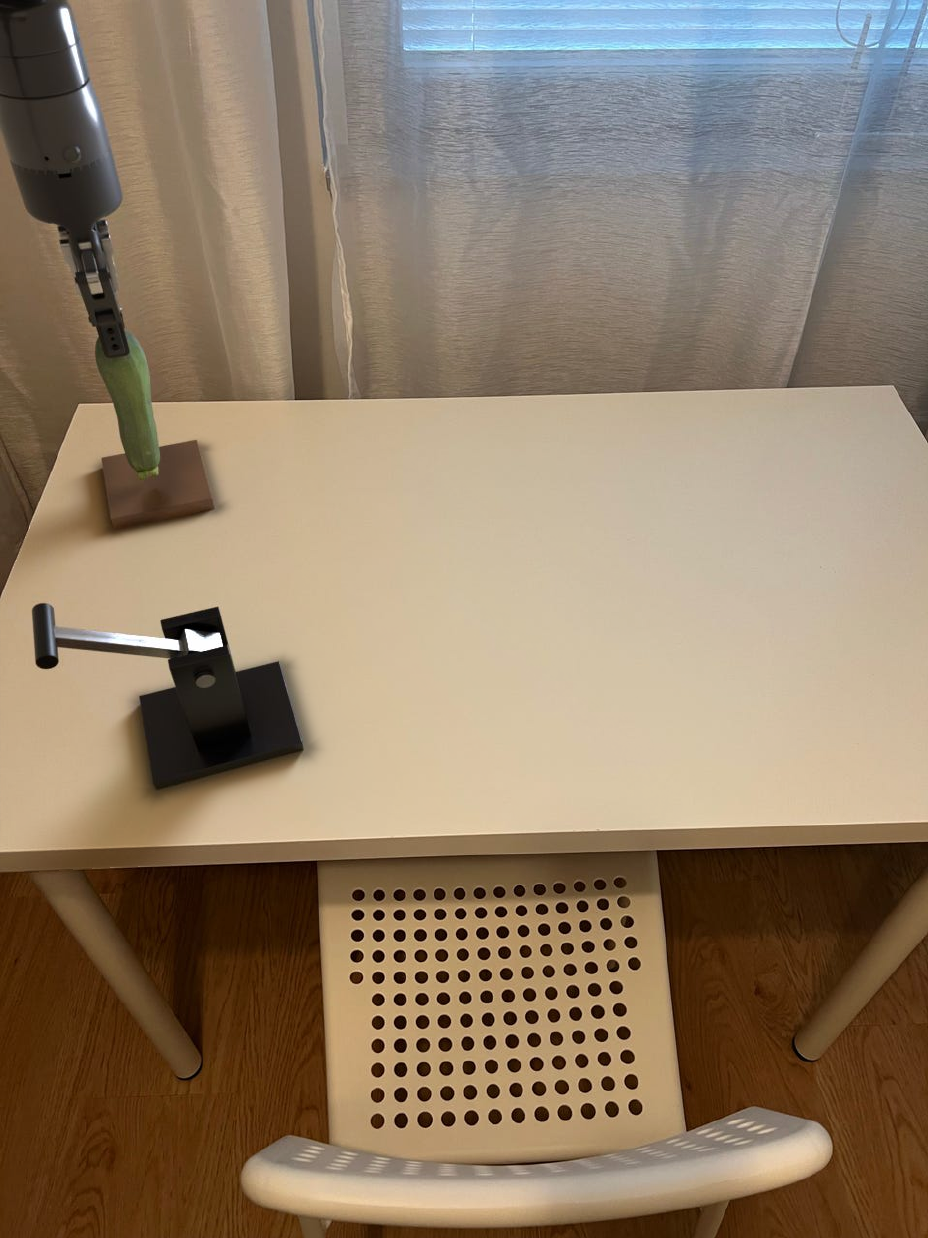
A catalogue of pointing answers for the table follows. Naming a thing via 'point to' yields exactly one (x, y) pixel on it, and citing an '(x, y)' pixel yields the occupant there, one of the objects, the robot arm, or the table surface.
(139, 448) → the vegetable
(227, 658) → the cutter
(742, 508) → the table surface
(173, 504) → the board
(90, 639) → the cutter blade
